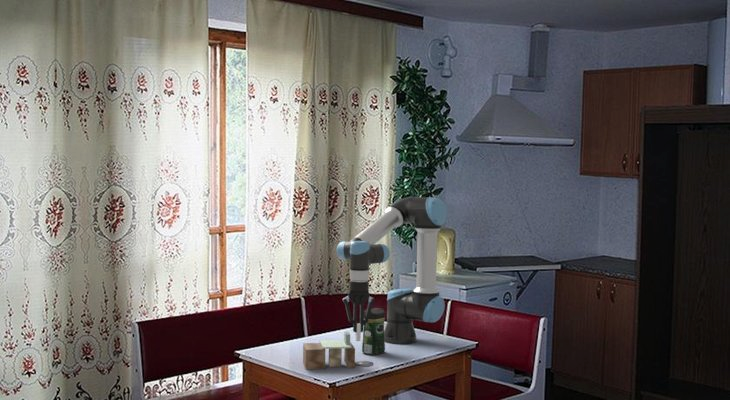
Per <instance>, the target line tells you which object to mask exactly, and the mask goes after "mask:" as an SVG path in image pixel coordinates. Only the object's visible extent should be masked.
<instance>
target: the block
mask: <svg viewBox="0 0 730 400" xmlns="http://www.w3.org/2000/svg"><path fill="white" fill-rule="evenodd" d="M342 350H343V348H338V349H328V361H327V363H328V365H329V367H330V368H331V367H342V360H343V359H342V357H343V356H342V352H343V351H342Z"/></svg>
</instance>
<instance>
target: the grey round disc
mask: <svg viewBox="0 0 730 400" xmlns="http://www.w3.org/2000/svg"><path fill="white" fill-rule="evenodd" d="M355 366H358V367H370V366H373V362H372V361H369V360H359V361H355Z"/></svg>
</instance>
